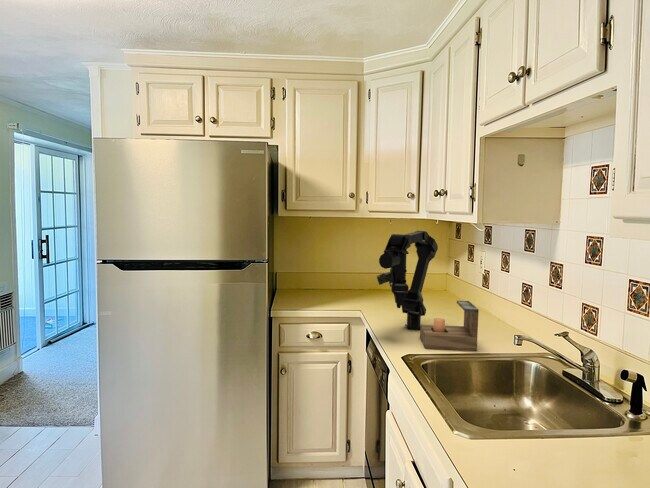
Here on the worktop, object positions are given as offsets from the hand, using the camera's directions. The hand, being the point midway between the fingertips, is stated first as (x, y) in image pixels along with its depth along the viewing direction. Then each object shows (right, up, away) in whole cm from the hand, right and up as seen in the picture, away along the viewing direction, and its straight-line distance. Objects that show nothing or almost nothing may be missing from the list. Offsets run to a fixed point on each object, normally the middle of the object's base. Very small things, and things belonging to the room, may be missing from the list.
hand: (397, 305), depth 162 cm
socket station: (+17, -13, -9) cm, 23 cm away
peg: (+14, -12, -8) cm, 20 cm away
